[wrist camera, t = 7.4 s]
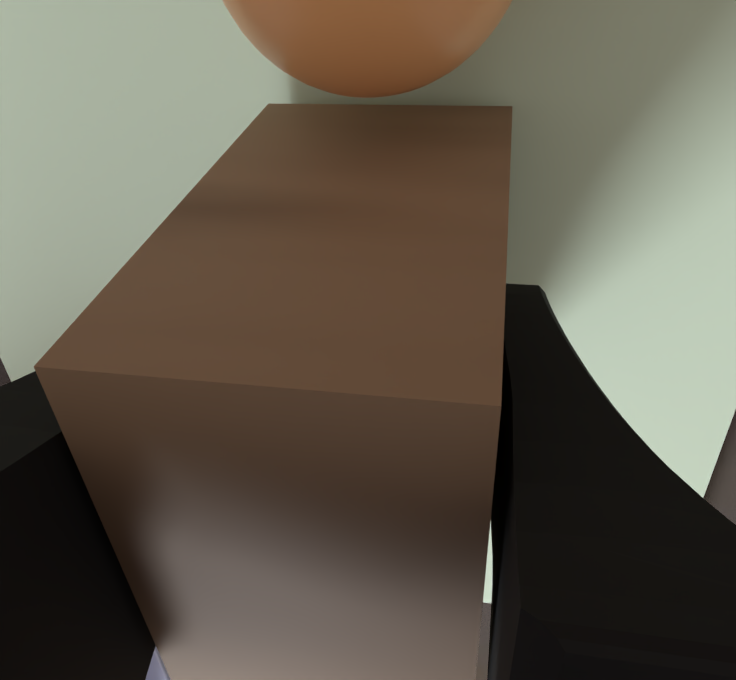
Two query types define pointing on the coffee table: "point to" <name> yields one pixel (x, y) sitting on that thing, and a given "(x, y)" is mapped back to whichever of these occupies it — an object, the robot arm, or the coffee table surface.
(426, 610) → the tall cardboard box
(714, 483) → the coffee table surface
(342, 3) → the ball
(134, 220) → the pitch
